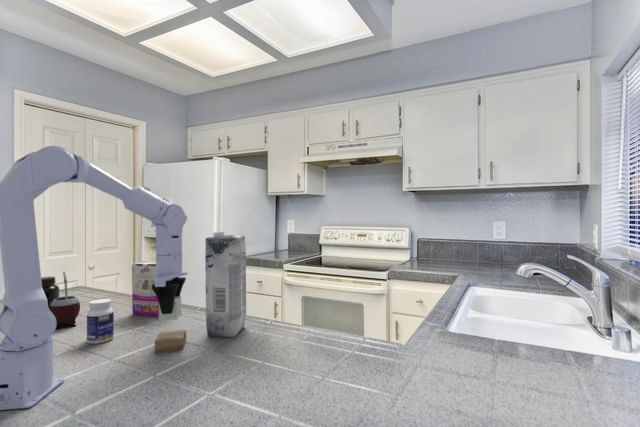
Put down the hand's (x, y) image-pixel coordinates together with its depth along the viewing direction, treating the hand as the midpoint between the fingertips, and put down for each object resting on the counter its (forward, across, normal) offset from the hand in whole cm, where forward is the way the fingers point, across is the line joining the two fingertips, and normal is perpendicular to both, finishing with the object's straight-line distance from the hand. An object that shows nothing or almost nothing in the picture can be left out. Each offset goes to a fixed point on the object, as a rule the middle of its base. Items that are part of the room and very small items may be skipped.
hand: (169, 310), depth 82 cm
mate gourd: (+9, +21, +35) cm, 42 cm away
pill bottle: (+9, +7, +19) cm, 22 cm away
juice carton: (+9, +8, -12) cm, 17 cm away
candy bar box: (+9, +29, +14) cm, 33 cm away
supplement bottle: (+9, +33, +47) cm, 58 cm away
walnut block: (+9, 0, 0) cm, 9 cm away
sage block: (+2, 0, 0) cm, 2 cm away
